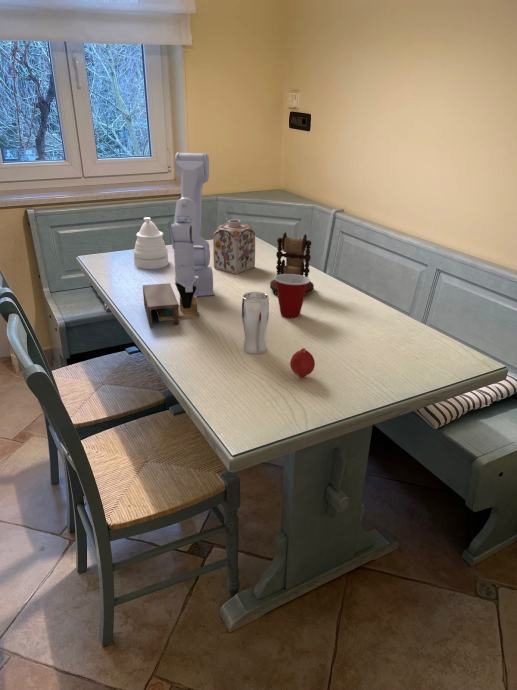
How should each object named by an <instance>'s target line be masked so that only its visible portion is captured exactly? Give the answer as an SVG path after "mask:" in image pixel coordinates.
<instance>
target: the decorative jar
mask: <svg viewBox="0 0 517 690" xmlns="http://www.w3.org/2000/svg"><path fill="white" fill-rule="evenodd" d="M212 237H213V240H212V242H213V244H212V245H213V248H212V249H213V254H212V255H213V268H214V269H215V270H219V271H224V272H227V273H231V274H235V275H239V274H241V273H243V272H246V271H248V270H251V269H253V268H255V266H256V265H255V264H256V232H255V230H254V229H253V228H252V227H250V225H249V224H245V223H242V222H241V220H240V219H229V220H228V221H227V223H224V224H221V225H219V226H218V227H217V229H216V230H215V231H214V232H213V236H212Z"/></svg>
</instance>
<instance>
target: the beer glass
mask: <svg viewBox="0 0 517 690" xmlns="http://www.w3.org/2000/svg"><path fill="white" fill-rule="evenodd" d="M269 299H270V298H269V295H268V294H267V293H265V292H262V291H249V292H245V293H243V294H242V301H241V302H242V303H241V320H242V327H243V331H244V340H243V341H244V342H243V346H242V349H243V351H244V352H245V353H247V354H250V355H259V354H264V353H265V352H266V350H267V345H266V339H265V338H266V331H267V327H268V323H269V316H270V303H269V301H270V300H269Z"/></svg>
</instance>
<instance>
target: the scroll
mask: <svg viewBox="0 0 517 690" xmlns="http://www.w3.org/2000/svg"><path fill="white" fill-rule="evenodd" d="M276 243H277V251H276V253H275V254H276V258H277V260H276V267H275V269H276V275H275V276H277V275H280V274H296V275H302V276H305V277H308V278H309V273H310V260H311V250H310V248H311V246H312V241H311V239H309V240H308V237H307V233H304V235H303V238H297V237H288V234H287V232H286V231H285V232H283V234H282V237H278V238H277V239H276ZM282 251H283V252H284V253H283V252H282ZM282 258H285V259H286V260H285V259H282ZM281 259H282V260H281ZM269 287H270V289H271V291H272V293H273V295H274V296H275V295H276V294H278V292H277V286H276V282H275V279H273V280H271V281H270V283H269ZM314 287H315V285H314V282H312V281H310V282H309V283H308V286H307V289H306V292H305V295H307V294H310V293H312V292H313V291H314Z"/></svg>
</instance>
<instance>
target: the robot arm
mask: <svg viewBox="0 0 517 690" xmlns="http://www.w3.org/2000/svg"><path fill="white" fill-rule="evenodd" d="M174 169H175V170H174V171H175V172H176V175H177V177H178V180H179V181H180V199H178V200H177V201H176V204H175V212H174V220H173V223H171V226H170V239H171V247H172V249H173V255H174V256H173V259H174V274H175V275H174V281H175V282H174V285H175V286H176V290H177V291H178V293H179V294H178V295H179V298H180V297H181V300H182V305H183V308H184V309H186V308H191V304H192V298H193V296H196V297H206V296H214V294H215V293H214V273H213V272H214V271H213V268H212V266H211V265H210V262H211V250H210V243H209V241H207V240H206V239H205V238H203V236H202V195H203V194H202V193H203V192H202V190H203V186H204V184H205V183H208V182H209V178H210V158H209V155H208V153H207V152H204V153H203V152H202V153H197V152H194V153H193V152H180V151H179V152H178V151H177V152H176V154H175V156H174Z"/></svg>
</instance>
